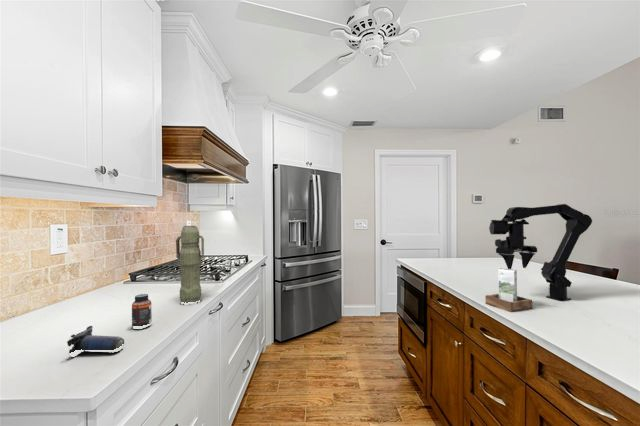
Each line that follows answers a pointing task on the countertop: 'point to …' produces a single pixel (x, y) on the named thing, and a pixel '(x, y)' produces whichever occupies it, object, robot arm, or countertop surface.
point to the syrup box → (507, 284)
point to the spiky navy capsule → (94, 341)
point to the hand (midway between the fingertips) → (517, 268)
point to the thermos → (190, 263)
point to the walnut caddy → (509, 303)
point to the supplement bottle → (141, 310)
